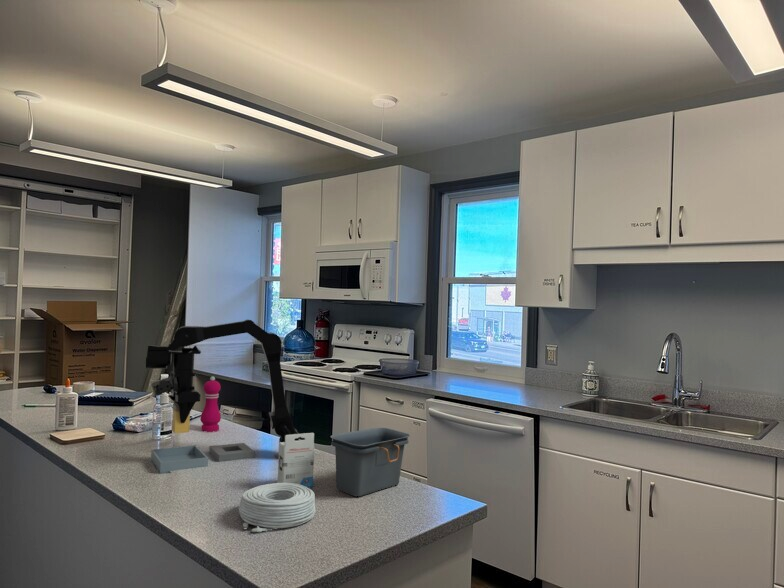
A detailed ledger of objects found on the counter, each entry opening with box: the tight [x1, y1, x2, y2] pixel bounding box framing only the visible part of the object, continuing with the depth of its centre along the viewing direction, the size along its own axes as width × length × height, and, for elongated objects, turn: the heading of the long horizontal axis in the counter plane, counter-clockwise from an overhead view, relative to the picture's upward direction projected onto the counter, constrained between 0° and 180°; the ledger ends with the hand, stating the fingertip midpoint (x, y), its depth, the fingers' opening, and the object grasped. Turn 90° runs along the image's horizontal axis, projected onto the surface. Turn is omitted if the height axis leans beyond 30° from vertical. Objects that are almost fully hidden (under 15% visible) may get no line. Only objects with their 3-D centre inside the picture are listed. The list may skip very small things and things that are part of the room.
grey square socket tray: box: [208, 442, 256, 463], centre depth 176 cm, size 11×11×2 cm
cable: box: [238, 482, 316, 533], centre depth 130 cm, size 18×18×6 cm
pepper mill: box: [200, 375, 222, 433], centre depth 208 cm, size 7×7×20 cm
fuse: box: [171, 402, 191, 434], centre depth 166 cm, size 4×4×8 cm
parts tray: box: [150, 445, 209, 475], centre depth 166 cm, size 15×13×3 cm
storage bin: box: [329, 427, 411, 497], centre depth 152 cm, size 21×16×14 cm
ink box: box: [277, 432, 315, 489], centre depth 151 cm, size 9×5×15 cm, turn 117°
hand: (181, 421), depth 166 cm, fingers closed on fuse, 4 cm apart
